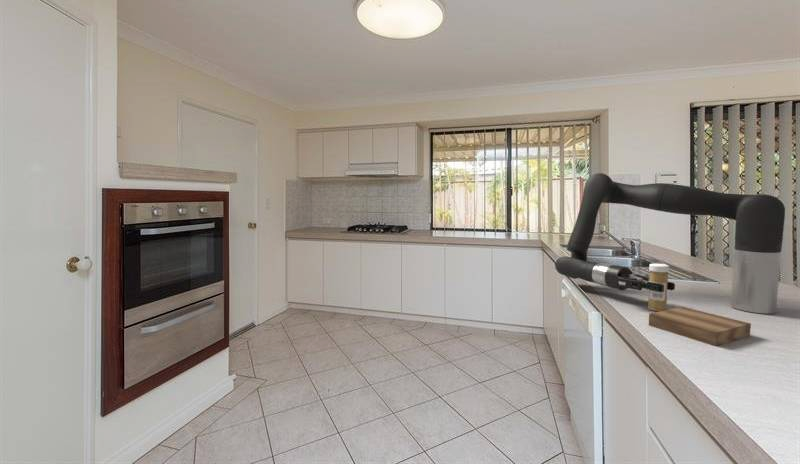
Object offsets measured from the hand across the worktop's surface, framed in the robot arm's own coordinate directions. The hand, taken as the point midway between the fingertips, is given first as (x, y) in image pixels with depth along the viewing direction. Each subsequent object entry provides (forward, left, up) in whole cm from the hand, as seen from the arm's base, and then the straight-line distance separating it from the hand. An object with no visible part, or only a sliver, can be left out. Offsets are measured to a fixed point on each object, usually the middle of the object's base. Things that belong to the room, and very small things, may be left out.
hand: (668, 287), depth 97 cm
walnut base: (+8, +11, -7) cm, 16 cm away
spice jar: (0, -3, -7) cm, 8 cm away
